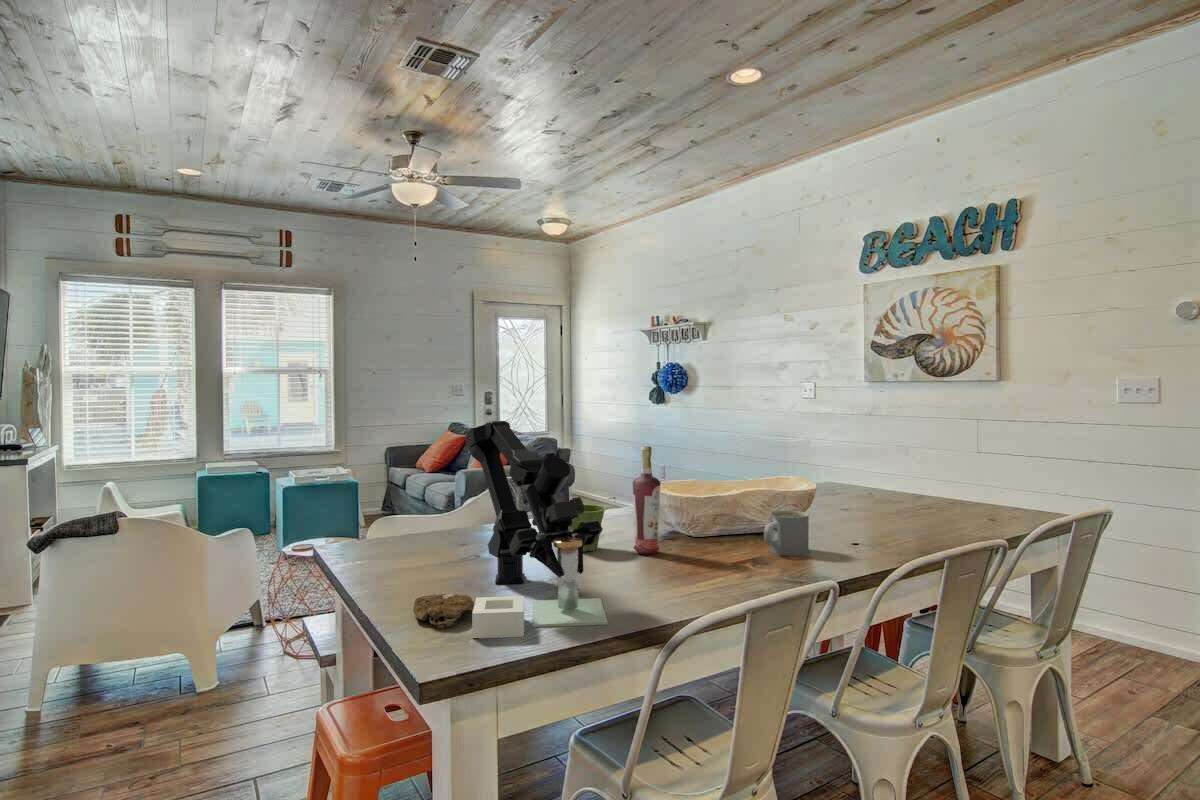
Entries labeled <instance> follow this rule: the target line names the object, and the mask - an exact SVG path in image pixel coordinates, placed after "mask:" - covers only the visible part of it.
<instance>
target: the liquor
mask: <svg viewBox="0 0 1200 800" xmlns="http://www.w3.org/2000/svg"><path fill="white" fill-rule="evenodd" d="M640 448H641V450H640V453H641V458H642V460H641V468H640V469H641V470H640V476H638V477H636V478H635V479H634V480H632V499H633V500H632V501H633V502H632V503H633V515H634V541H635V542H634V543H635V545H634V546H633V549H634V550H635V551H636V552H637V553H638V554H639V555H642V556H652V555H655V554H656V553H657V552H658V551H659V550H660V546H659V524H660V522H659V519H660V518H659V517H660V504H661V503H660V502H661V501H660V500H661V481H660V480H659V479H658V478H657V477H654V476H653V470H652V469H653V467H652V461H651V460H652V459H651V458H652V446H641V447H640Z"/></svg>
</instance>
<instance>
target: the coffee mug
mask: <svg viewBox="0 0 1200 800" xmlns="http://www.w3.org/2000/svg"><path fill="white" fill-rule="evenodd" d="M809 523H810V522H809V513H806V512H804V511H799V510H788V509H787V510H785V509H784V510H783V509H782V510H772V511H770V512H769V523H767V524H766V525H765V527H764V530H763V538H764V539H763V540H764V542H765V543H766V544H767V545H768V546H769V552H770V553H772V554H775V555H779V556H783V557H784V556H785V557H801V556H806V555H808V554H809V530H810V529H809V528H810V527H809V526H810V525H809Z"/></svg>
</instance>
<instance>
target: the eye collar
mask: <svg viewBox="0 0 1200 800" xmlns="http://www.w3.org/2000/svg"><path fill="white" fill-rule="evenodd" d="M471 616H472V617H471V618H472V627H471V628H472V635H471V636H472V639H473V638H479V639H499V638H500V639H501V638H502V639H503V638H522V637H523V638H524V637H525V596H524V595H516V596H514V595H513V596H511V595H510V596H483V597H482V596H481V597H476V598H475V601H474V609H472V615H471Z"/></svg>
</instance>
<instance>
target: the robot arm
mask: <svg viewBox="0 0 1200 800" xmlns="http://www.w3.org/2000/svg"><path fill="white" fill-rule="evenodd" d="M464 438H465V444H466V447H468V450H469V452H470V455H471V457H472V458H473V459H475V461H477V462H478V463H479V464H480V465H481V468H482V472H483V475H484V478H485V482H486V486H487V489H488V492H489V495H490V498H491V502H492V503H491V504H492V505H493V510H494V512H495V517H496V518H495V521H494V524H493V526H492V527H493V528H492V533H493V534H491V538H490V540H489V542H487V543H488V544H487V547H488V553H489V555H492V556H493V557H495V558H497V574H496V575H495V581H494V582H495V585H503V584H505V585H507V584H524V583H525V577H526V575H525V574H526V573H524V569H523V568H524V567H523V566H524V564H523V563H524V560H523V558H524V557H523V556H526V555H527V553H529V554H528V556H529V558H532V559H533V558H534V559H536V560H537V561H538V562H540V563H541V564H542V565H544V566H545V567H546V568H547V569H549V570H550V571H551V572H552V573H554V575H555V576H557V578H558V577H561V576H562V571H561V568H560V565H559V563H558V557H557V556H556V554H555V551H554V550H553V540H554V539H556V538H560V537H577V538H581V539H582V546H581V547H578V574H580V575H581V574H583V573H584V552H583V546H589V545H592V544H594V543H595V541H596V539H597V538H598V536H599V537H600V535H601V533H602V532H603V531H604V528H603V527H602V523H601V524H600V523H599V521H597V520H591V521H583V522H581V523H580V524H579V526H578V528H577V529H574V530H569V529H568V527H569V526H571V525H572V523H573V522H572V519H573V518H575V517H578V516H579V514H581V513H583V512H584V510H585V509H584V504H585V503H584V502H583V500H582V498H581V497H580V496H579V497H572V499H569V500H566V501H559V502H558V500H557V498H556V496H555V495H557V494H559V492H560V491H561V489H562V488H563V486H564V485H565V483H566V481H567V479H568V477H569V476H570V475H571V474H570V473H571V466H570V464H569V463H568V462H566V460H564V459H562V458H561V457H558V456H556V453H555V452H549V453H548V452H546V453H544V454H545V455H544V456H543V457H542V456H541V455H540V454H538V453H536V452H534V451H530V450H529V449H527V448H526V446H525V445H524V444H523V442H522V441H521V440H520V439H519V438H518V436H517V435H516V434H515V432H514V431H513V429H511V426H510V423H509V421H505V420H495V421H494V420H491V421H489V422H486V423H485V424H482V425H478V426H476V427H471V428H470V429H469V431H468V432H466V434H465V437H464ZM501 454H502V456H503V457H504V459H505V460H506V461H507V463H508V465H509V466H510V467H509V475H510V478H511V480H512V482H513V483H514V485H515V486H516V487H525V486H527V488H526V491H524V492H525V493H524V496H523V499H522V503H523V504H524V505H525V504H527V505H528V507H529V509H530V512H531V514H532V518H533V519H532V520H531V522H530V518H529V515H528V512H527V511H526V510H519V509H518V508H517V506H516V502H515V500H514V497H513V496H514V495H513V493H512V490H511V487H510V484H509V481H508V477H507V473H506V470H505V468H504V464H503V461H502V457H501ZM532 526H534V527H537V529H536V528H534V527H532ZM537 530H538V531H537Z"/></svg>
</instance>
